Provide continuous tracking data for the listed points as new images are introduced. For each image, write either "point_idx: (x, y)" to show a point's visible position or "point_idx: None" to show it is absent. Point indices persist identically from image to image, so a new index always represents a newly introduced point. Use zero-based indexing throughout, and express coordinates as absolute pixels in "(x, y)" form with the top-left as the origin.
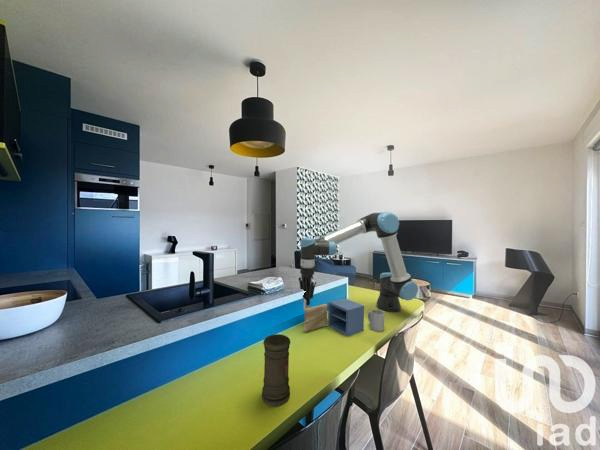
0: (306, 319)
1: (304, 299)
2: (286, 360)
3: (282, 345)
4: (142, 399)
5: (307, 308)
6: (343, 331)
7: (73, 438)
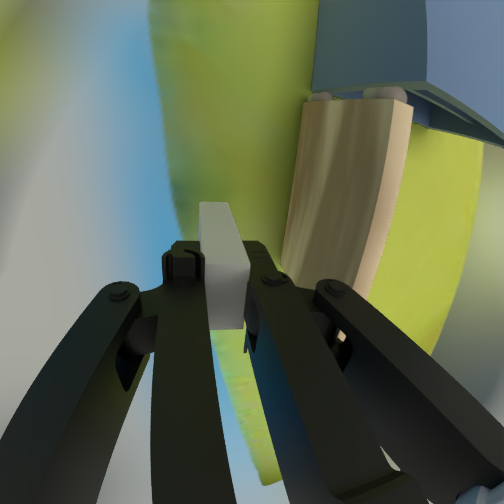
0: None
1: (218, 322)
2: None
3: None
4: (264, 473)
5: (339, 335)
6: (417, 117)
7: (275, 481)
